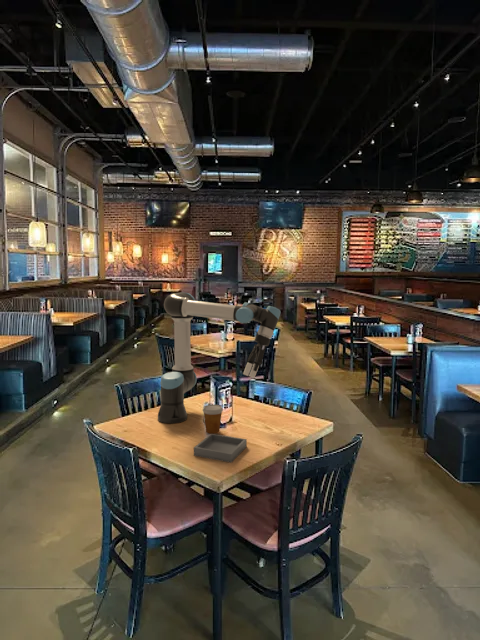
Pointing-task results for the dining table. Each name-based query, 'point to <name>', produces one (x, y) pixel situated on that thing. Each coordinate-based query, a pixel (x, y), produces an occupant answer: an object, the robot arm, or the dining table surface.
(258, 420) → the dining table surface
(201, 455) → the tray
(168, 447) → the dining table surface
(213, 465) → the dining table surface
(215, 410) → the disposable coffee cup
